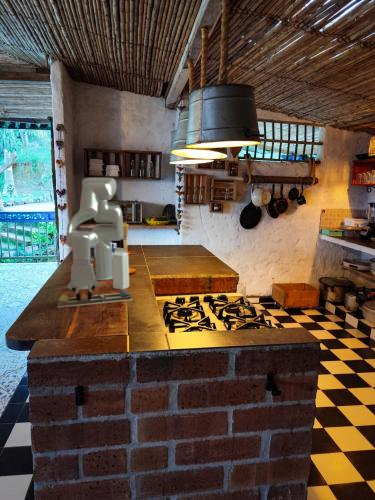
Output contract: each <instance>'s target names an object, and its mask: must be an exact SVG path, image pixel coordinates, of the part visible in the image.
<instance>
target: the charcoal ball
mask: <svg viewBox="0 0 375 500" xmlns="http://www.w3.org/2000/svg"><path fill="white" fill-rule="evenodd" d="M128 293H129V291H128V290H127V289H126V288H125V289H120V291H119V295H120V297H127V296H128Z"/></svg>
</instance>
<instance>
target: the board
mask: <svg viewBox="0 0 375 500" xmlns="http://www.w3.org/2000/svg"><path fill="white" fill-rule="evenodd" d="M119 293H120V292H119ZM119 293H118V292H117V293H116V294H119ZM110 294H111V293H109V294H108V293H106V294H103V293H102V294H101V295H102V298H103V295H110ZM99 295H100V294H95V295H94V296H99ZM119 297H120V296H119ZM127 297H128V296H127ZM73 298H76V296H75V297H73ZM109 298H118V297H109ZM98 299H100V298H98ZM98 299H90V300H98ZM106 299H108V298H106ZM80 301H81V300H80ZM126 301H133V298H132V297H131V299H128V300H118V301H108V302H105V301H104V298H103V302H98V303H88V304H78V305H68V306H58V307H57V308H66V307H67V308H68V307H77V306H87V305H96V304H108V303H117V302H126ZM68 302H77V301H68ZM59 303H61V302H59ZM57 308H56V309H57Z"/></svg>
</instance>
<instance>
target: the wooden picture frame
mask: <svg viewBox="0 0 375 500" xmlns="http://www.w3.org/2000/svg"><path fill="white" fill-rule="evenodd" d="M98 295H99V296H95V295H92V298H91V299H98V298H100V299H98V300H87V301H78V300H77V299H76V298H74V297H69V301H77V302H67V303H59V302H60V298H57V302H56V306H57V307H58V306H68V305H78V304H88V303H98V302H103V298H102V295H103V294H98ZM98 304H99V303H98ZM88 305H89V304H88Z"/></svg>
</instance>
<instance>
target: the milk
mask: <svg viewBox="0 0 375 500" xmlns="http://www.w3.org/2000/svg"><path fill="white" fill-rule="evenodd" d="M129 263H130V262H129V253H128V252H127V251H126V248H124V247H123V248H122V247H115V249H114V251H113V252H112V271H113V279H112V285H113V289H118V290H123V289H125V290H126V289H127V288H129V287H130V270H129V266H130V265H129Z"/></svg>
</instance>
